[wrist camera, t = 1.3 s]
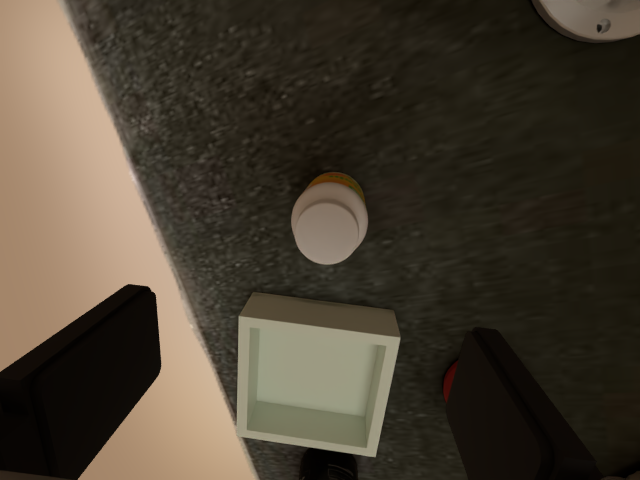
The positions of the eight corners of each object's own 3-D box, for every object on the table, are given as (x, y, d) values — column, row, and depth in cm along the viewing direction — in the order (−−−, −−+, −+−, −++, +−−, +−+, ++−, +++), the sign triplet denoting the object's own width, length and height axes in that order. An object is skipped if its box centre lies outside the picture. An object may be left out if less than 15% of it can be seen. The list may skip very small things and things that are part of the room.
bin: (253, 291, 33) (238, 315, 28) (393, 310, 32) (400, 337, 28) (249, 401, 37) (236, 435, 33) (372, 419, 36) (375, 457, 32)
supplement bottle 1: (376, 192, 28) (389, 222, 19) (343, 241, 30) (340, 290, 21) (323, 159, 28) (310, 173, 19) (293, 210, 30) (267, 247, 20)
